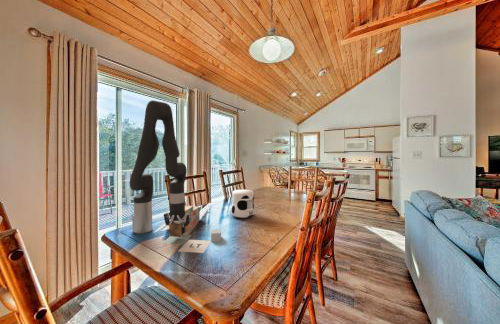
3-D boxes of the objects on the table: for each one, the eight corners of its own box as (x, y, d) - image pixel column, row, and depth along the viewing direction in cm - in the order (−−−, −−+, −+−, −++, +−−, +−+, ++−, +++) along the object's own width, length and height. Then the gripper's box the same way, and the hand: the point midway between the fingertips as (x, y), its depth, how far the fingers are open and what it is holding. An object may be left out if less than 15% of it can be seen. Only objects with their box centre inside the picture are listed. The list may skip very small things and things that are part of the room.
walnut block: (169, 236, 100) (169, 224, 99) (174, 231, 105) (174, 220, 105) (180, 236, 99) (180, 225, 99) (184, 232, 105) (184, 221, 104)
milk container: (233, 211, 151) (234, 188, 150) (256, 213, 149) (256, 189, 148) (228, 219, 134) (228, 193, 133) (253, 221, 132) (253, 194, 131)
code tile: (178, 252, 90) (178, 251, 90) (188, 240, 102) (188, 239, 102) (203, 254, 89) (203, 252, 89) (211, 241, 101) (211, 240, 101)
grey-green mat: (161, 244, 98) (161, 243, 98) (172, 234, 109) (172, 233, 108) (183, 245, 97) (183, 244, 97) (191, 236, 108) (191, 234, 107)
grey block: (211, 243, 100) (211, 233, 100) (211, 238, 105) (211, 229, 104) (221, 242, 101) (221, 233, 100) (220, 238, 106) (220, 229, 105)
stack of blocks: (191, 219, 134) (191, 201, 133) (199, 220, 133) (199, 202, 132) (173, 232, 113) (173, 211, 112) (183, 232, 112) (183, 211, 111)
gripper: (159, 202, 98) (160, 235, 99) (187, 203, 97) (187, 236, 98) (167, 198, 106) (168, 229, 107) (193, 199, 104) (193, 230, 105)
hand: (177, 233), depth 102 cm, fingers closed on walnut block, 5 cm apart
